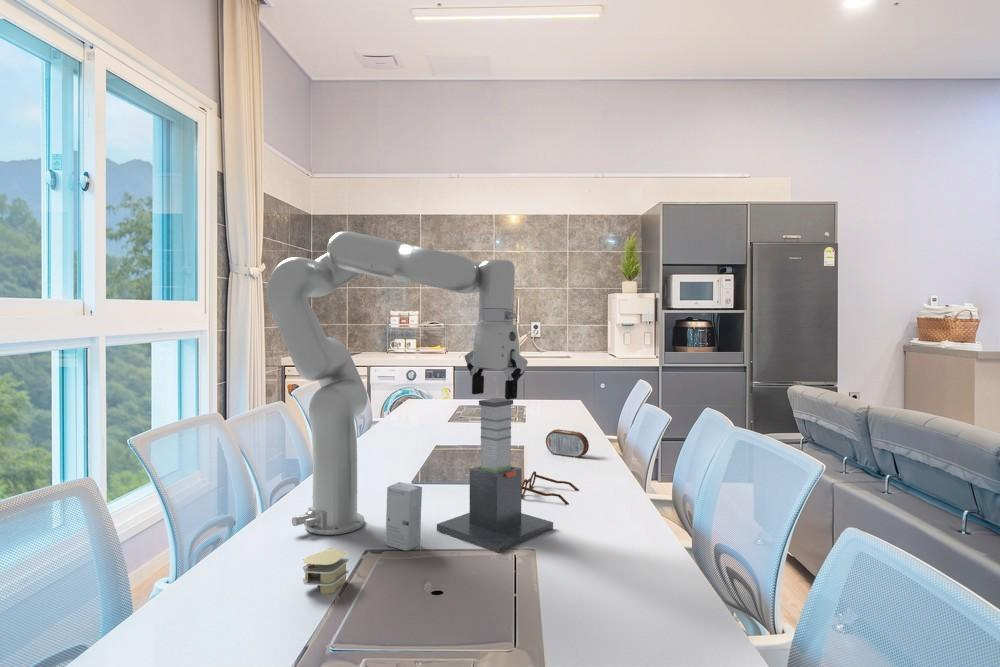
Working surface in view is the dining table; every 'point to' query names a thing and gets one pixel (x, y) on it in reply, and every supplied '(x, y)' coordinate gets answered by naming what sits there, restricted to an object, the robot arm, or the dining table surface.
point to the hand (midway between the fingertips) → (493, 396)
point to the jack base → (495, 513)
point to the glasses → (542, 492)
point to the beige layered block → (326, 570)
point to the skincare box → (403, 516)
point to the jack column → (496, 435)
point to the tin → (567, 443)
